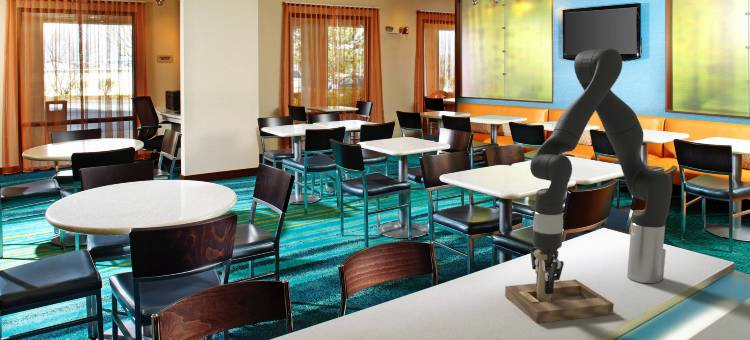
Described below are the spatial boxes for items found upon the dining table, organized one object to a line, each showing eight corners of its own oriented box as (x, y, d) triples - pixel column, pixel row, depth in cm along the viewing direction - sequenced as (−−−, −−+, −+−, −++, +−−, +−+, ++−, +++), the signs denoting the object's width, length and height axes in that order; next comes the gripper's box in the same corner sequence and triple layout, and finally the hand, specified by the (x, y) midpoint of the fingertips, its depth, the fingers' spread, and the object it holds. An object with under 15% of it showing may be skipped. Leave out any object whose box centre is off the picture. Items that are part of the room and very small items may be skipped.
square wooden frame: (575, 289, 177) (575, 278, 177) (612, 314, 160) (613, 302, 159) (505, 296, 172) (505, 285, 171) (536, 323, 155) (536, 310, 154)
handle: (559, 306, 164) (562, 253, 161) (538, 310, 162) (541, 255, 159) (548, 300, 168) (551, 247, 165) (528, 303, 166) (530, 250, 163)
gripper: (575, 235, 155) (571, 299, 158) (547, 220, 169) (543, 279, 172) (548, 237, 153) (545, 301, 157) (522, 222, 167) (519, 282, 170)
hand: (544, 290), depth 164 cm, fingers closed on handle, 4 cm apart
